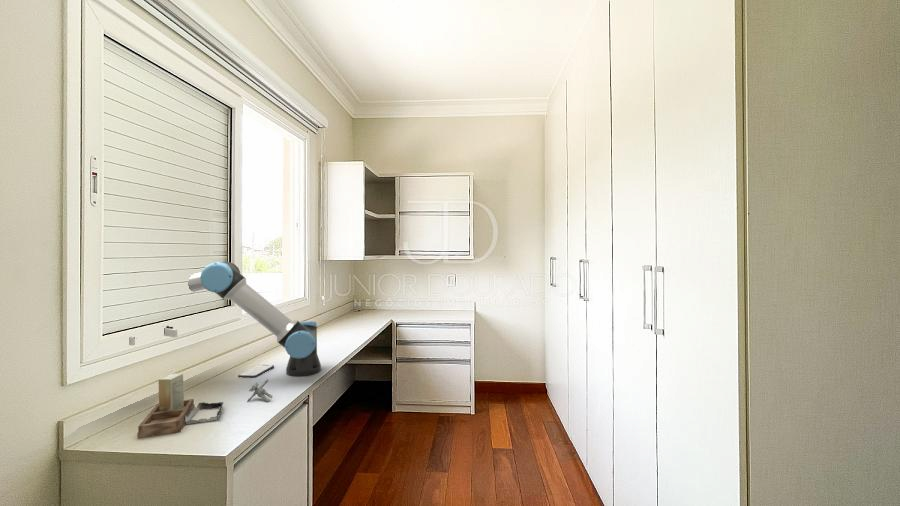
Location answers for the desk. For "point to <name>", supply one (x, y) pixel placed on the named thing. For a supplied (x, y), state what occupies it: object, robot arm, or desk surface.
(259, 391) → the grey figurine
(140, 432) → the walnut divided tray
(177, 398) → the skincare box
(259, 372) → the phone case
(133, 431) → the desk surface
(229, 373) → the desk surface
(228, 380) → the desk surface
